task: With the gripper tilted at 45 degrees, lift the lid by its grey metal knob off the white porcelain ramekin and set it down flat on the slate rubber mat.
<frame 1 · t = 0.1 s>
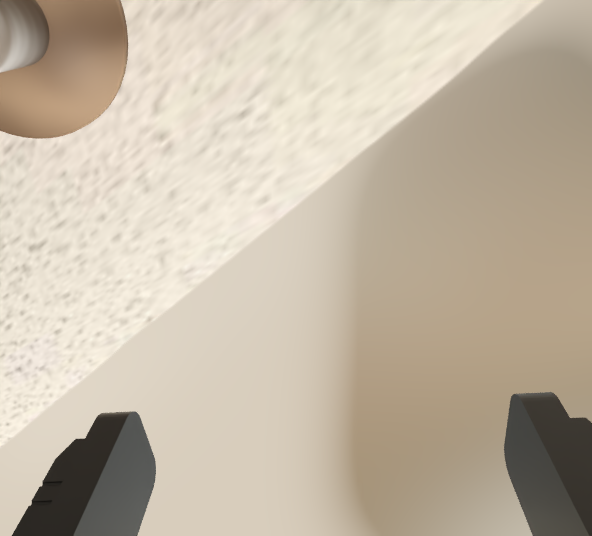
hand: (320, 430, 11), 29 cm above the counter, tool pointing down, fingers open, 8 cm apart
lid: (18, 25, 29), point 5 cm above the counter, touching ramekin
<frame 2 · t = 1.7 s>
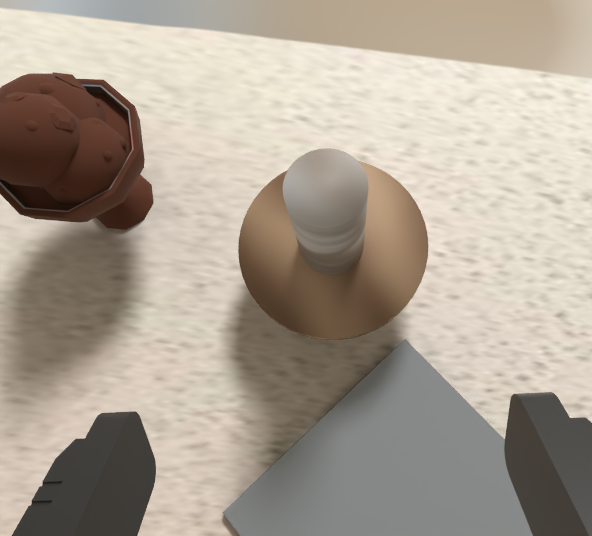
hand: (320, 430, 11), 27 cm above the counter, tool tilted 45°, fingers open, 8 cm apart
lid: (331, 247, 34), point 5 cm above the counter, touching ramekin
mat: (395, 513, 34), on the counter
ice cream bowl: (124, 201, 43), on the counter
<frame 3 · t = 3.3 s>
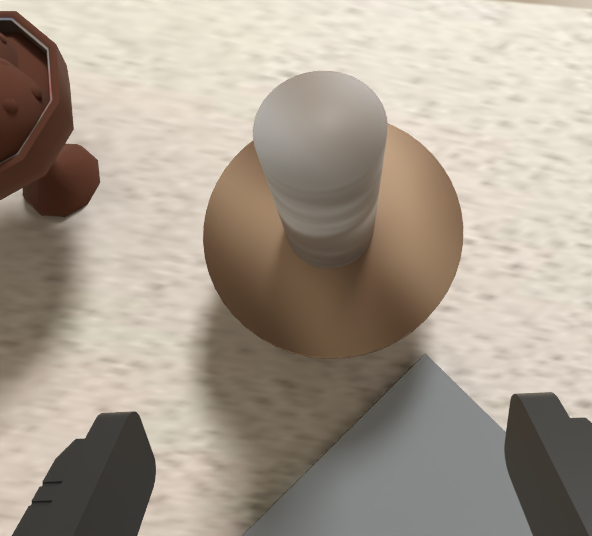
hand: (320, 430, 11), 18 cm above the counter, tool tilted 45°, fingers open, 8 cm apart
lid: (330, 231, 25), point 5 cm above the counter, touching ramekin
ice cream bowl: (63, 181, 34), on the counter
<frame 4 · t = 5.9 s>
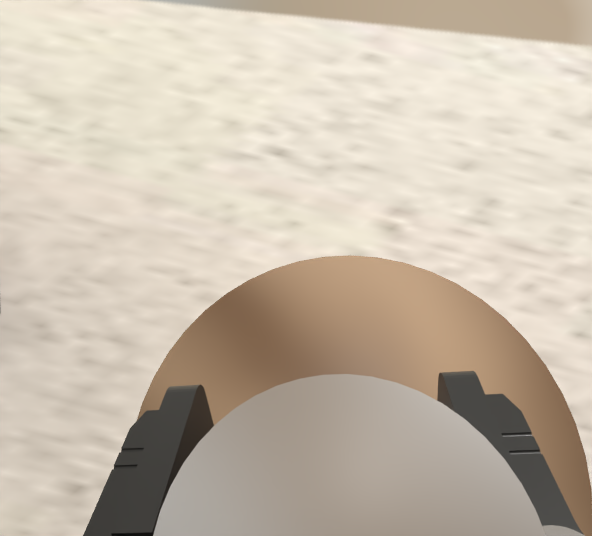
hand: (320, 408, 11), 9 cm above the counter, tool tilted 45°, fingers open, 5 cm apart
lid: (347, 471, 15), point 5 cm above the counter, touching gripper, ramekin
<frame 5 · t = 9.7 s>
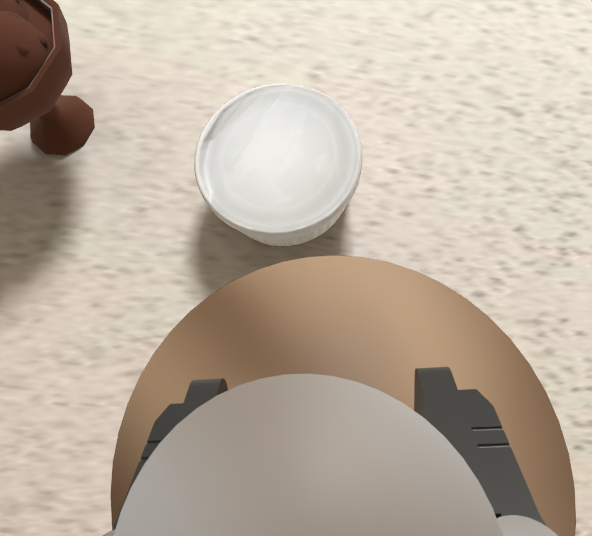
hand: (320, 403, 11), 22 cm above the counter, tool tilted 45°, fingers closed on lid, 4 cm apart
lid: (332, 471, 15), point 18 cm above the counter, touching gripper
ramekin: (286, 189, 37), on the counter
ice cream bowl: (64, 127, 41), on the counter
when the fingers open (6 cm above the counter, at t = 13.0 s): lid drops 1 cm, resting on mat.
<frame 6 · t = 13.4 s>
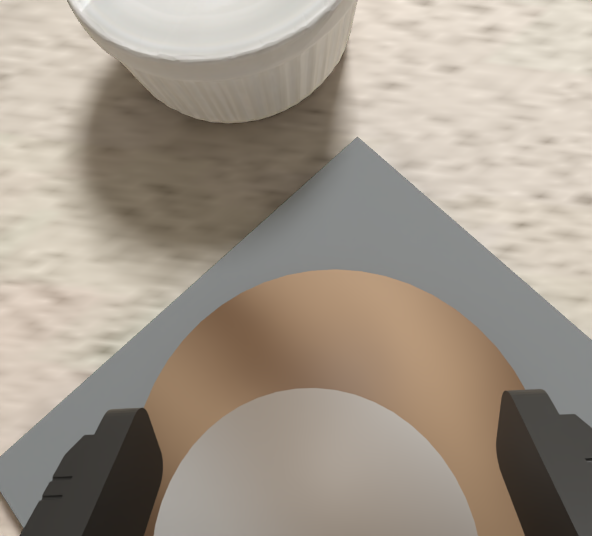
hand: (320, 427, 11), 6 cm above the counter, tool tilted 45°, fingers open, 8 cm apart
lid: (333, 469, 16), point 1 cm above the counter, touching mat
mat: (333, 464, 16), on the counter
ramekin: (242, 40, 22), on the counter
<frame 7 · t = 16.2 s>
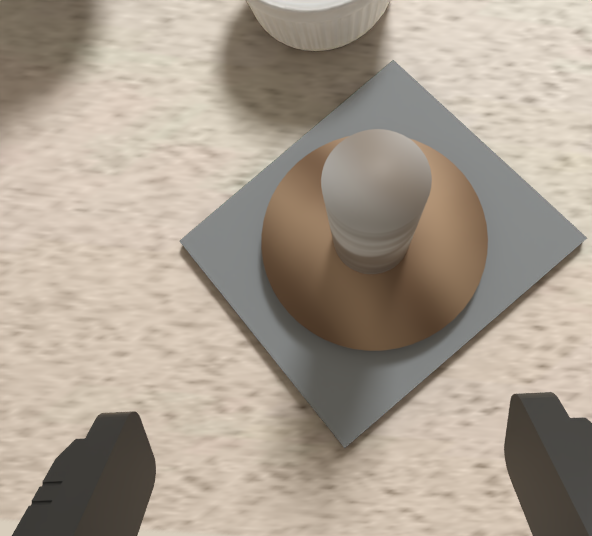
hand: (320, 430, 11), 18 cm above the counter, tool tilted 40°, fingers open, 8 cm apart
lid: (370, 240, 29), point 1 cm above the counter, touching mat
mat: (370, 242, 30), on the counter
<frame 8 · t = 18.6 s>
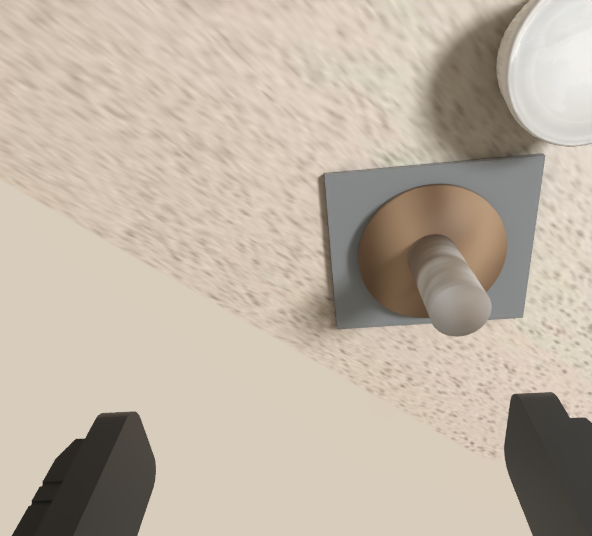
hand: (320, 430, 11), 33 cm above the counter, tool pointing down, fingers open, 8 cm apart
lid: (430, 252, 44), point 1 cm above the counter, touching mat
mat: (429, 248, 45), on the counter
ramekin: (557, 53, 37), on the counter
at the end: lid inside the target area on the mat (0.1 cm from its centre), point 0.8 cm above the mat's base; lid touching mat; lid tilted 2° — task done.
